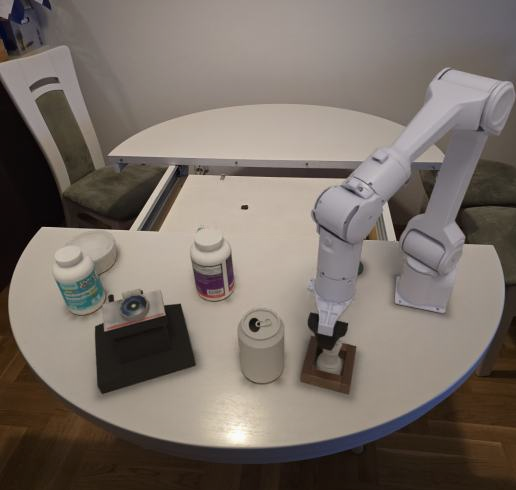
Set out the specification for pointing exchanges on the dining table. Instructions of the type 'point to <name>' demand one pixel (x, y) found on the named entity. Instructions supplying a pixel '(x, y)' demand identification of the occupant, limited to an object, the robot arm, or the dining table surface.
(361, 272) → the coaster
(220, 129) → the dining table surface
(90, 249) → the ramekin
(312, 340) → the holder
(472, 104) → the robot arm
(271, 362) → the can
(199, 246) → the pill bottle
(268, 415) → the dining table surface
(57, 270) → the pill bottle
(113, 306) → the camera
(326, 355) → the rook chess piece
